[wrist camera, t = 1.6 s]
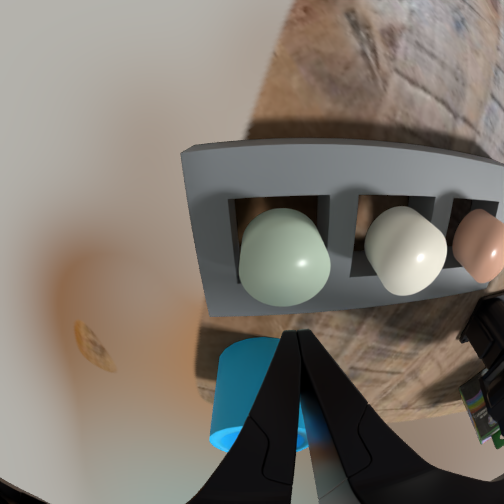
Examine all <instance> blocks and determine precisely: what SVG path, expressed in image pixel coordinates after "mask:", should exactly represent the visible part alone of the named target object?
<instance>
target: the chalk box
mask: <svg viewBox="0 0 504 504" xmlns="http://www.w3.org/2000/svg"><path fill="white" fill-rule="evenodd" d="M487 371H488V369H487V368H485V369H484V370H483V371H482V372H480V373H479V374H477V375H476V376H475V377H473V378H472V379H471V380H469V381H468V382H466V383H465V384H464V385H462V386H461V387H460V388H459V391H460V394H461V398H462V401H463V403H464V405H465V407H466V410H467V412H468V414H469V417H470V419H471V421H472V424H473V426H474V429H475V431H476V434H477V436H478V439H479V441H480V444H483V443H485V442H486V441H488V440H489V439H491V438H492V439H493V442H494V445H495V447H496V449H499V448H501V447H502V446H504V439H500V435H501V431H500V428H499V425H498V423H497V422H495V421H494V420H493V419H492V417H491V416H488V414H487V409H486V405H485V402H484V398H483V395H482V391H481V388H480V383H479V380H478V379H479V378H480V377H481V376H483V375H484V374H485V373H486V372H487Z"/></svg>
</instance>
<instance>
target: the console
mask: <svg viewBox="0 0 504 504" xmlns="http://www.w3.org/2000/svg"><path fill="white" fill-rule="evenodd" d="M181 161H182V168H183V174H184V182H185V189H186V195H187V202H188V208H189V214H190V220H191V225H192V231H193V237H194V243H195V248H196V253H197V259H198V264H199V269H200V274H201V279H202V284H203V289H204V293H205V298H206V303H207V307H208V312H209V316H210V317H223V316H259V315H280V314H297V313H312V312H325V311H337V310H347V309H357V308H367V307H375V306H384V305H392V304H399V303H406V302H413V301H420V300H427V299H433V298H439V297H445V296H451V295H456V294H461V293H467V292H472V291H477V290H482V289H486V288H487V285H488V283H489V282H486V283H478V282H477V281H476V280H475V279H474V278H473V277H472V276H471V275H470V274H469V273H468V272H467V271H466V270H465V268H464V267H463V266H462V265H461V264H460V263H459V262H458V261H457V260H456V259H455V257H454V255H453V249H452V246H447V255H446V259H445V263H444V265H443V267H442V269H441V271H440V273H439V274H438V276H437V277H436V278H435V279H434V281H433V282H432V283H431V284H429V285H428V286H427V287H426V288H424V289H423V290H421V291H419V292H417V293H415V294H411V295H406V296H399V295H395V294H392V293H391V292H389V291H388V290H387V289H386V288H385V287H384V285H383V284H382V282H381V280H380V279H379V277H378V275H377V274H376V272H375V270H374V269H373V267H372V265H371V264H370V262H369V261H368V259H367V257H366V254H365V251H353V248H354V239H355V230H356V220H357V209H358V197H359V195H408V196H410V197H409V204H408V207H410V208H412V209H414V210H415V211H417V212H418V213H419V214H421V215H422V216H423V217H424V218H425V219H427V220H428V221H429V222H430V223H431V224H433V225H434V226H435V227H436V228H437V229H438V230H440V231H441V233H442V234H443V235H444V237H446V233H447V229H448V224H449V219H450V214H451V209H452V204H453V198H464V199H473V200H472V205H471V210H470V212H471V211H473V210H475V209H483V210H485V211H487V212H488V213H489V214H491V215H492V216H494V217H495V218H497V219H498V220H499V221H501V222H502V223H504V164H503V163H500V162H498V161H496V160H493V159H489V158H485V157H481V156H476V155H472V154H467V153H462V152H457V151H452V150H447V149H441V148H435V147H428V146H421V145H414V144H406V143H397V142H387V141H375V140H361V139H341V138H274V139H254V140H239V141H227V142H217V143H207V144H199V145H194V146H192V147H190V148H188V149H187V150H185V151H183V152H182V153H181ZM297 195H318V205H317V230H318V232H319V234H320V236H321V238H322V241H323V243H324V245H325V247H326V250H327V252H328V254H329V258H330V274H329V277H328V280H327V282H326V284H325V285H324V287H323V288H322V289H321V290H320V291H319V292H318V293H317V294H316V295H315V296H314V297H312V298H311V299H309V300H307V301H305V302H303V303H300V304H297V305H293V306H286V307H279V306H271V305H267V304H264V303H262V302H260V301H258V300H256V299H255V298H253V297H252V296H251V295H250V294H249V293H248V292H247V291H246V290H245V288H244V287H243V285H242V283H241V280H240V277H239V262H240V251H239V241H238V231H237V221H236V211H235V200H234V199H236V198H252V197H272V196H297Z"/></svg>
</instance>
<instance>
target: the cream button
mask: <svg viewBox="0 0 504 504" xmlns="http://www.w3.org/2000/svg"><path fill="white" fill-rule="evenodd" d="M364 247H365V254H366V257H367V259H368V261H369V262H370V264H371V265H372V267H373V269H374V270H375V272H376V274H377V275H378V277H379V279H380V280H381V282H382V284H383V285H384V287H385V288H386V289H387V290H388V291H389V292H391V293H392V294H395V295H399V296H406V295H411V294H415V293H417V292H419V291H421V290H423V289H424V288H426V287H427V286H428V285H429V284H431V283H432V282H433V281H434V279H435V278H436V277H437V276H438V274H439V273H440V271H441V269H442V267H443V265H444V263H445V259H446V255H447V244H446V240H445V237H444V235H443V234H442V233H441V231H440V230H438V229H437V228H436V227H435V226H434V225H433V224H431V223H430V222H429V221H428V220H427V219H425V218H424V217H423V216H422V215H421V214H419V213H418V212H417V211H415V210H414V209H412V208H410V207H406V206H397V207H393V208H390V209H388V210H386V211H384V212H383V213H381V214H380V215H379V216H378V217H377V218H376V219H375V220H374V221H373V223H372V224H371V226H370V227H369V229H368V232H367V234H366V238H365V245H364Z"/></svg>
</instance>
